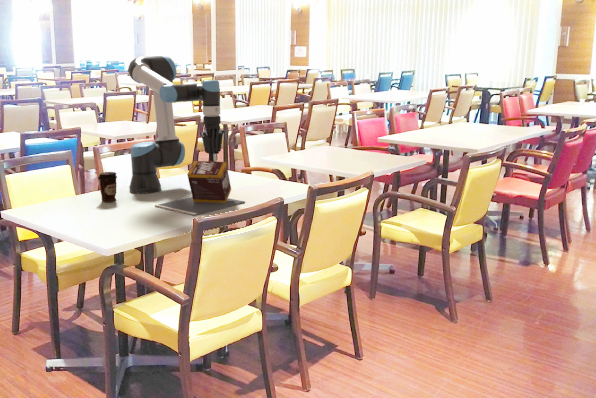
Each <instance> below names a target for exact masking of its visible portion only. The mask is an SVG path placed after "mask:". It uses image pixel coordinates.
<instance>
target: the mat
mask: <svg viewBox="0 0 596 398" xmlns="http://www.w3.org/2000/svg"><path fill="white" fill-rule="evenodd" d="M242 204H246V201H243V200H238V199H233V198H229V197H228V199H227V201H226V203H209V202H194V201H193V197H192V196H189V197H185V198H180V199H176V200H172V201H168V202H163V203H159V204H154V207H155V208H159V207H160V208H159V209H163V208H164V209H163V210H167V211H172V212H177V213H181V214H185V215H189V214H190V216H194V217H195V215H196V216H199V215H204V214H208V213H211V212H215V211H218V210H222V209H223V210H224V209H227V208H230V207H234V206H237V205H242Z"/></svg>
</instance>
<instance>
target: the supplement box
mask: <svg viewBox="0 0 596 398" xmlns="http://www.w3.org/2000/svg"><path fill="white" fill-rule="evenodd" d="M187 179H188V183H189V188H190V192H191V197H193V201H194V202H209V203H226V201H227V199H228V198H229V197H230V193H231V191H232V186H231V182H230V176H229V170H228V164H227V161H217V162H213V161H209V160H206V161H205V160H201V161H200V160H198V161H197V160H194V161H193V162H192V164H191V167H190V169H189V170H188V172H187Z"/></svg>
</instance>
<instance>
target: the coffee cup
mask: <svg viewBox="0 0 596 398" xmlns="http://www.w3.org/2000/svg"><path fill="white" fill-rule="evenodd" d="M117 178H118V176H117V172H115V171H105V172H100V173H99V175H98V176H97V179H98V182H99V189H100V195H101V201H102V203H112V202H116V201H117V199H116V194H117V185H118V184H117Z"/></svg>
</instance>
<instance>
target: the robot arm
mask: <svg viewBox="0 0 596 398" xmlns="http://www.w3.org/2000/svg"><path fill="white" fill-rule="evenodd" d="M127 72H128V74H129V77H130V78H131V79H132V80H133V81H134V82H136V83H138V84H143V85H145V86H146V87H147V88H149V89H150V90H152V96H153V102H154V103H153V104H154V111H155V119H156V120H155V121H156V128H157V129H156V131H157V138H156V139H155V141H142V142H138V143H135V144H133V145H132V146H131V147H130V148H131V149H130V158H131V159H130V160H131V176H132V177H131V180H130V185H129V192H131V193H133V194H151V193H156V192H160V191H161V190H162V184H161V182H160V180H159V177H158V173H157V168H158V169H159V168H165V167H174V166H179V165H181V164H182V163H183V162H184V160H185V156H186V147H185V146H184V143H183V142H181V141H180V138H179V137H178V136H177V135H176V128H175V127H176V125H175V118H174V117H175V116H174V110H173V103H183V102H186V103H187V102H202V114H203V117H202V118H203V124H204V128H203V131H202V132H201V131H200V136H201V138H202V142H203V146H204V147H203V148H204V152H205V153H206V154H208V161H213V162H218V154H220V152H221V151H222V144H223V143H222V142H223V137H224V133H225V130H224V129H222V128H221V125H220V124H221V123H222V121H221V93H220V90H221V89H220V81H219V80H217V79H205V80H202V82H201V83H190V84H176V83H174V80H175V79H176V78H177V67H176V64H175V62H174V60H173V59H172V58H171V57H169V56H162V55H160V56H159V55H158V56H138V57H136V58H134V59H133V60H131V61H130V63H129V64H128V71H127Z"/></svg>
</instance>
